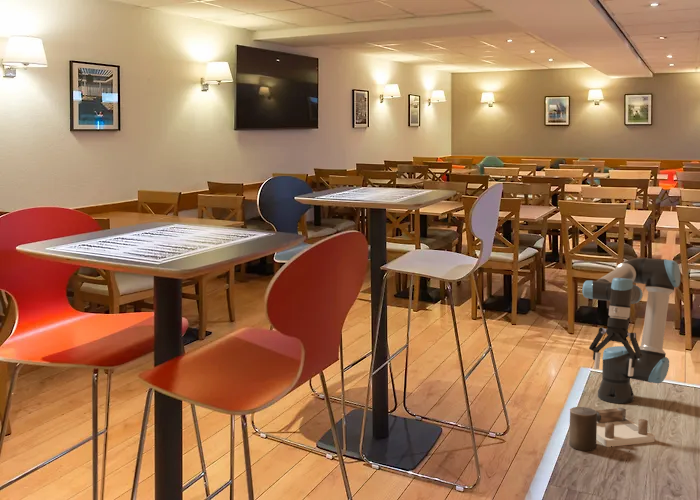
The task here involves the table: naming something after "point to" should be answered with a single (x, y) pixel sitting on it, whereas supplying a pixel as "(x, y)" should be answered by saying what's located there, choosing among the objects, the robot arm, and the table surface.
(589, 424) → the pillar candle
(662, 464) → the table surface
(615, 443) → the stool seat
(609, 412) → the folding leg
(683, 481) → the table surface
